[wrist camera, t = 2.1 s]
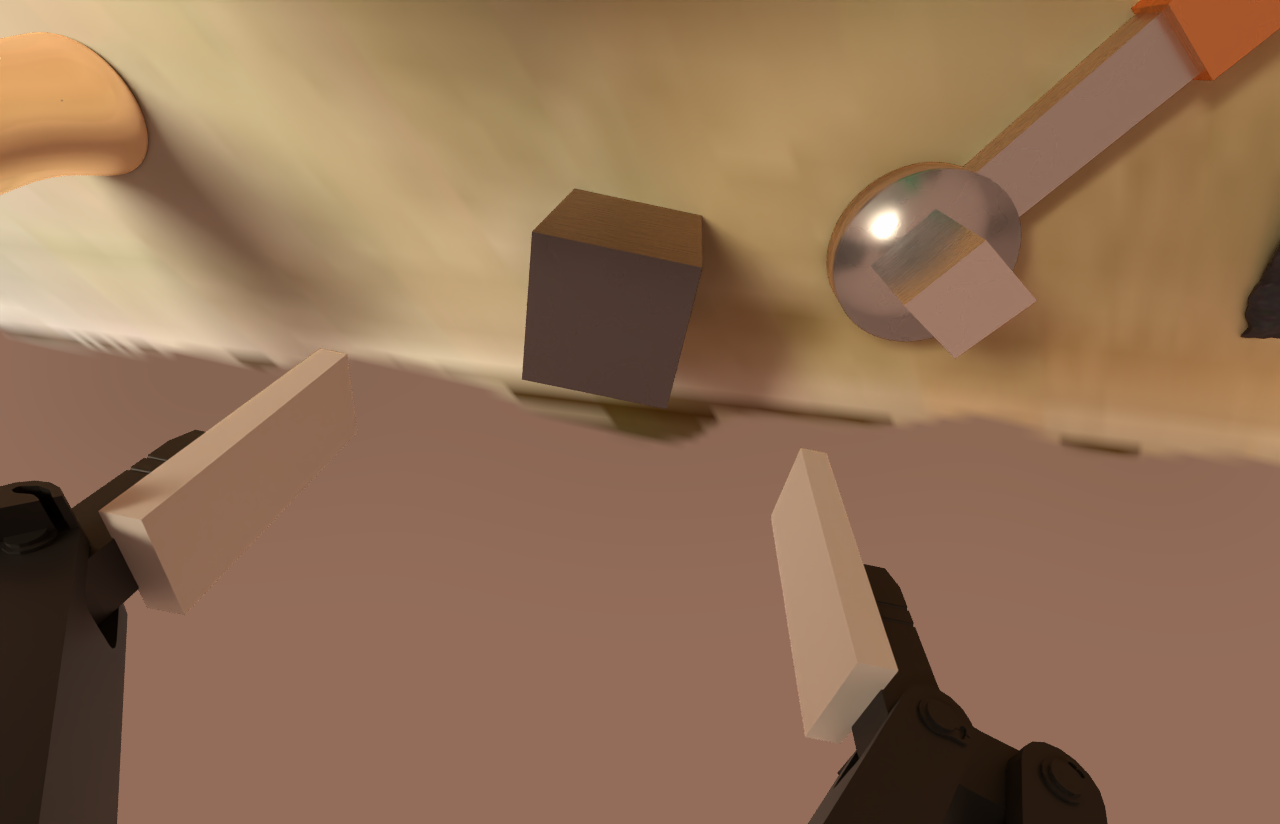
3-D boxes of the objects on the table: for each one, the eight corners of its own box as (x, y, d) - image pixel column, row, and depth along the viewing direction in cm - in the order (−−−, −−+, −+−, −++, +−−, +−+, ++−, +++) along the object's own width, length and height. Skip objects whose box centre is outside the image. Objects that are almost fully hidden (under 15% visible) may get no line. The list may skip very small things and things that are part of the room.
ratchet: (890, 353, 30) (937, 424, 24) (792, 256, 27) (818, 308, 21) (1495, -108, 18) (1863, -185, 13) (1417, -339, 16) (1826, -567, 10)
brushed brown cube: (561, 308, 30) (522, 379, 23) (574, 188, 26) (532, 231, 20) (673, 332, 30) (666, 409, 23) (701, 215, 27) (702, 267, 20)
